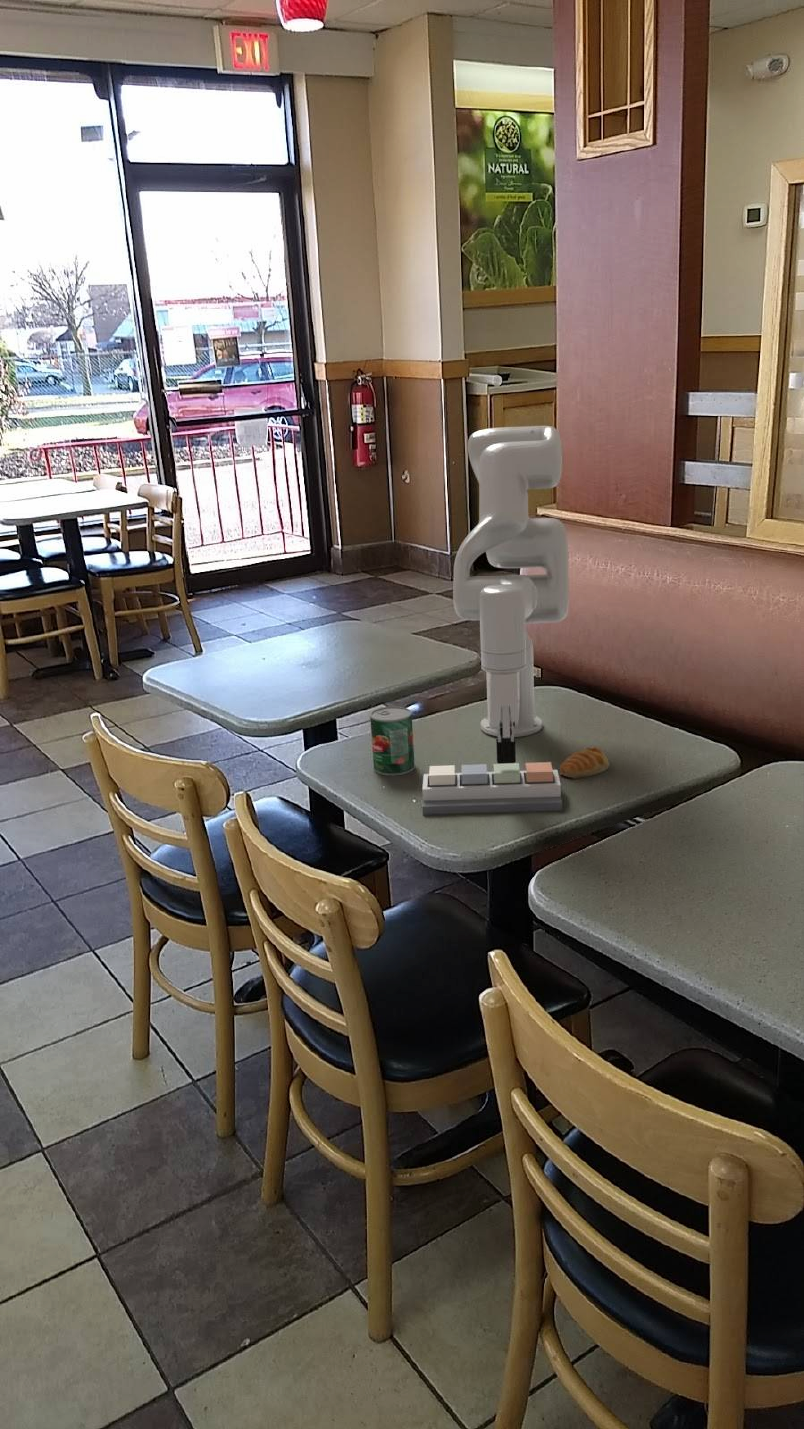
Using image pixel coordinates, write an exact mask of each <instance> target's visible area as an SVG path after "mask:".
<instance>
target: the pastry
mask: <svg viewBox="0 0 804 1429" xmlns="http://www.w3.org/2000/svg"><path fill="white" fill-rule="evenodd" d="M609 767H610V762H609V760H608V758H607V756H606V755H605V752H604V750H602V749H601V748H598V747H597V746H593V747H587V748H586V749H582V750H579V751H574V752H573V753H572V754H570V756H569V757H567V758H566V759H565V760H564V761H563V762H562V764H561V765H560V766H559V770H560V772H559V774H560V775H562V776H565V777H568V778H572V779H579V778H584V777H592V776H593V775H596V774H600V773H603V772H604V771H607V770H608V768H609Z"/></svg>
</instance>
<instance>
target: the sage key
mask: <svg viewBox="0 0 804 1429" xmlns="http://www.w3.org/2000/svg"><path fill="white" fill-rule="evenodd" d="M520 771H521V770H520V764H519V762H515V763H504V764H499V763H493V772H494V783H516V782H520Z"/></svg>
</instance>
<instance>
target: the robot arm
mask: <svg viewBox="0 0 804 1429" xmlns="http://www.w3.org/2000/svg"><path fill="white" fill-rule="evenodd" d="M561 439H562V438H561V436H560V433H559V431H558V430H557V429H556V428H555V427H554V426H551V425H531V426H529V425H526V426H504V427H502V426H501V427H490V428H489V427H488V428H485V429H484V428H483V429H480V430H477V431H475V432H473V433H472V434H471V435H470V436H469V438H468V442H467V452H468V458H469V462H470V465H471V469H472V470H473V473H474V475H475V478H476V479H477V482H478V484H479V485H478V487H479V488H478V489H479V494H478V495H479V500H478V501H479V502H478V503H479V506H478V507H479V508H478V509H479V512H478V513H479V517H478V518H479V520H478V524H477V525H476V526H475V527H474V528H473V529H472V530H471V531H470V532H469V533H468V534H467V536H466V537H465V538H464V539H463V541H462V542H461V544H460V546H459V548H458V550H457V552H456V556H455V559H454V563H453V580H452V581H453V582H452V584H453V586H452V587H453V590H452V593H453V594H452V598H453V600H452V601H453V602H452V603H453V608H454V610H455V613H456V615H457V616H458V618H461V619H463V620H465V621H479V632H480V633H479V635H480V638H479V639H480V660H481V662H480V663H481V665H480V666H481V670H482V671H484V672H485V673H486V675H485V676H486V698H487V700H486V701H487V702H486V703H487V704H486V705H487V716H486V717H483V719H482V720H481V721H480V729H481V731H482V732H483V733H485V734H487V735H489V736H493V737H494V736H495V737H497V738H496V741H495V742H496V764H508V763H517V762H516V761H517V759H516V756H517V754H516V753H517V752H516V750H517V749H516V738H519V737H527V736H531V735H533V734H536V733H538V732H539V731H540V730H542V728H543V721H542V719H541V718H540V717H539V716H537V715H535V685H534V683H535V682H534V681H535V679H534V678H535V676H534V674H535V673H534V645H533V642H532V639H531V637H530V636H529V635H528V633H527V632H526V631H527V630H526V624H551V623H559V622H561V621H563V620H564V619H565V618H566V617H567V615H568V614H569V613H568V612H569V607H570V605H569V604H570V584H569V582H570V580H569V575H570V574H569V545H568V534H567V531H566V530H567V529H566V528H565V525H564V524H563V522H562V521H560V519H557V518H555V517H554V518H553V517H539V518H538V517H537V518H531V517H530V516H529V494H528V490H542V489H552V488H553V489H554V488H555V487H557V486H558V485H559V483H560V480H561V478H562V473H563V453H562V452H563V450H562V448H563V447H562V440H561ZM484 553H485V554H486V558H487V561H488V563H489V564H490V565H491V566H493V567H494V568H498V569H522V568H523V569H530V568H531V569H532V568H539V569H540V568H541V569H543V570H544V571H545V574H513V575H512V574H509V575H508V574H507V575H506V574H505V575H484V576H483V575H482V576H481V575H479V576H478V575H477V576H470V571H471V568H472V565H473V563H475V561H476V560H477V558H478V557H480V556H481V555H482V554H484Z"/></svg>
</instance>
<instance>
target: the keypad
mask: <svg viewBox="0 0 804 1429" xmlns="http://www.w3.org/2000/svg"><path fill="white" fill-rule="evenodd" d="M552 770H553V781H548V782H527V777H526V770H520V782H516V783H494V771H487V783H485V784H462V772H455V784H453V785H429V773H424V774H423V778H422V790H421V791H422V815H424V816H425V815H427V816H428V815H453V814H454V815H455V814H484V813H485V814H486V813H487V814H488V813H489V814H491V813H520V812H523V813H524V812H525V813H527V812H551V811H554V812H555V811H558V812H559V811H561V812H562V811H563V801H562V796H561V794H562V792H561V791H562V788H561V787H562V786H561V784H562V783H561V781H560V776H559V772H558V769H552Z"/></svg>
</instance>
